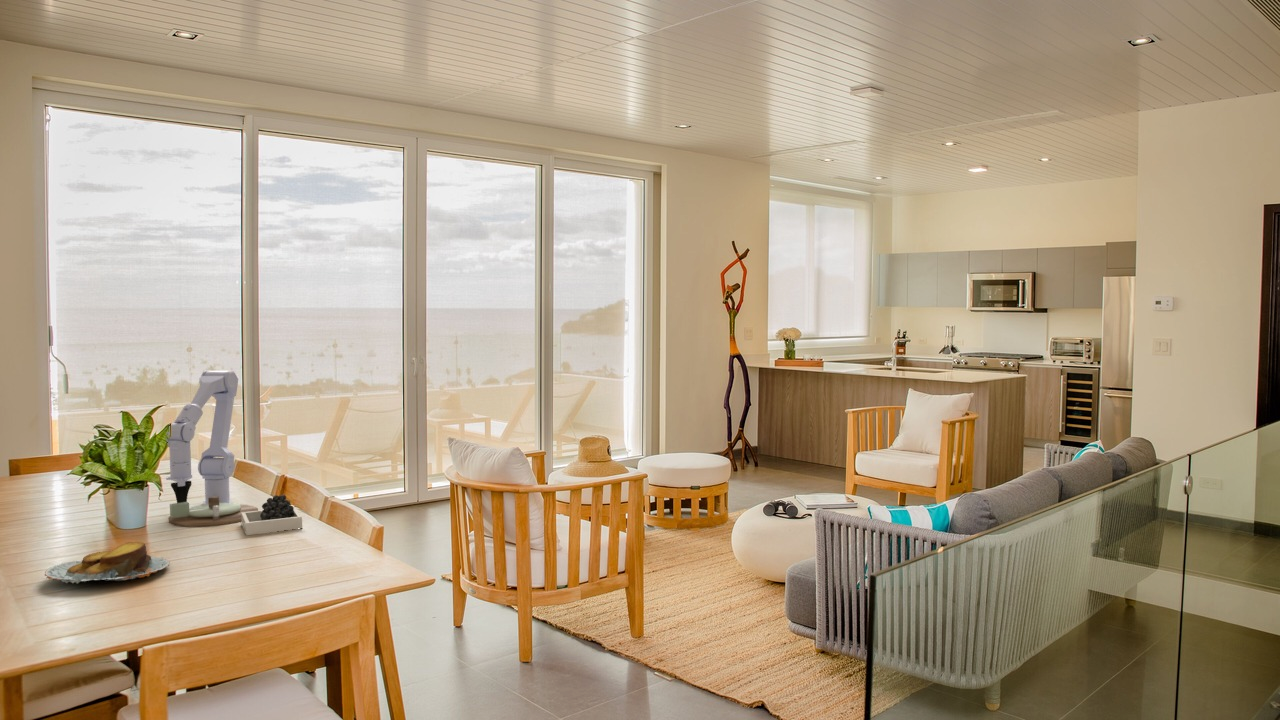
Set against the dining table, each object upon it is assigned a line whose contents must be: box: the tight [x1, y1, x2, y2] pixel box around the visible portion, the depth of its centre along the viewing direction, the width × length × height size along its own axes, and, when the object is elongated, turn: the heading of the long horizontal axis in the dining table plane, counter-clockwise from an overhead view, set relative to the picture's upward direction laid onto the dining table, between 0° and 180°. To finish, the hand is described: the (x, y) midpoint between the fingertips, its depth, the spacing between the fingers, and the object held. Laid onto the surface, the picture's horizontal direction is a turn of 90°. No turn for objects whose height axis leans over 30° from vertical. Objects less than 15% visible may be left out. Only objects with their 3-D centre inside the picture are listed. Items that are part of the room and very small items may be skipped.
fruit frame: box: [240, 506, 303, 536], centre depth 259 cm, size 15×15×4 cm
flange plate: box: [169, 501, 242, 518], centre depth 270 cm, size 20×15×4 cm
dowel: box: [212, 505, 220, 521], centre depth 263 cm, size 2×2×5 cm
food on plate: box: [44, 541, 171, 584], centre depth 212 cm, size 26×26×7 cm
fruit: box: [260, 494, 294, 521], centre depth 259 cm, size 9×8×15 cm
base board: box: [168, 496, 259, 528], centre depth 271 cm, size 25×25×6 cm
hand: (182, 505), depth 270 cm, fingers closed
